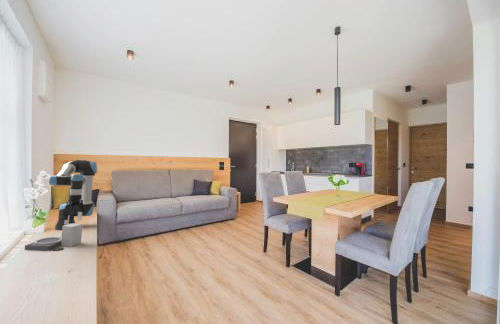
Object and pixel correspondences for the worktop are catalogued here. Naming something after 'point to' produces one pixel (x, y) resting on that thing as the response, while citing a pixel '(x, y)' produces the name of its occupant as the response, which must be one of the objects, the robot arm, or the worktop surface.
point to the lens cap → (58, 249)
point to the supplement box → (71, 234)
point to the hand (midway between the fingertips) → (73, 222)
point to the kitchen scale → (44, 244)
